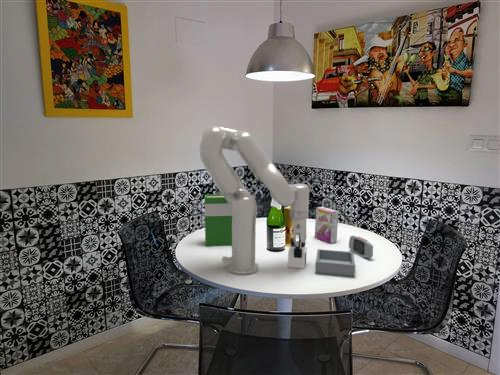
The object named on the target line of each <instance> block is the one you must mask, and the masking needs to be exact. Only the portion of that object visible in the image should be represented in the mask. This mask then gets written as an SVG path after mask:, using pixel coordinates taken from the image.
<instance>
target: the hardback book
mask: <svg viewBox="0 0 500 375" xmlns="http://www.w3.org/2000/svg"><path fill="white" fill-rule="evenodd" d="M232 215H233V211H232V208H231V206H230V205H229V203H228V202H227V201H226V199H225V198H224V196H223V195H222V193H219V194H217V193H216V194H214V193H213V194H211V193H210V194H204V236H205V237H204V238H205V239H204V240H205V241H204V242H205V247H232Z"/></svg>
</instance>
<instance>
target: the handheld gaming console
mask: <svg viewBox="0 0 500 375" xmlns="http://www.w3.org/2000/svg"><path fill="white" fill-rule="evenodd" d="M348 248H349V250H351V252H353V254H355V255H356V256H359V257H361V258H364V259H365V258H366V259H371V258H372V257H373V256H374V245H373V244H372V242H371V243H370V242H369V241H368V239H365V238H364V237H361V236H355V235H351V236H350V237H349V241H348Z"/></svg>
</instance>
